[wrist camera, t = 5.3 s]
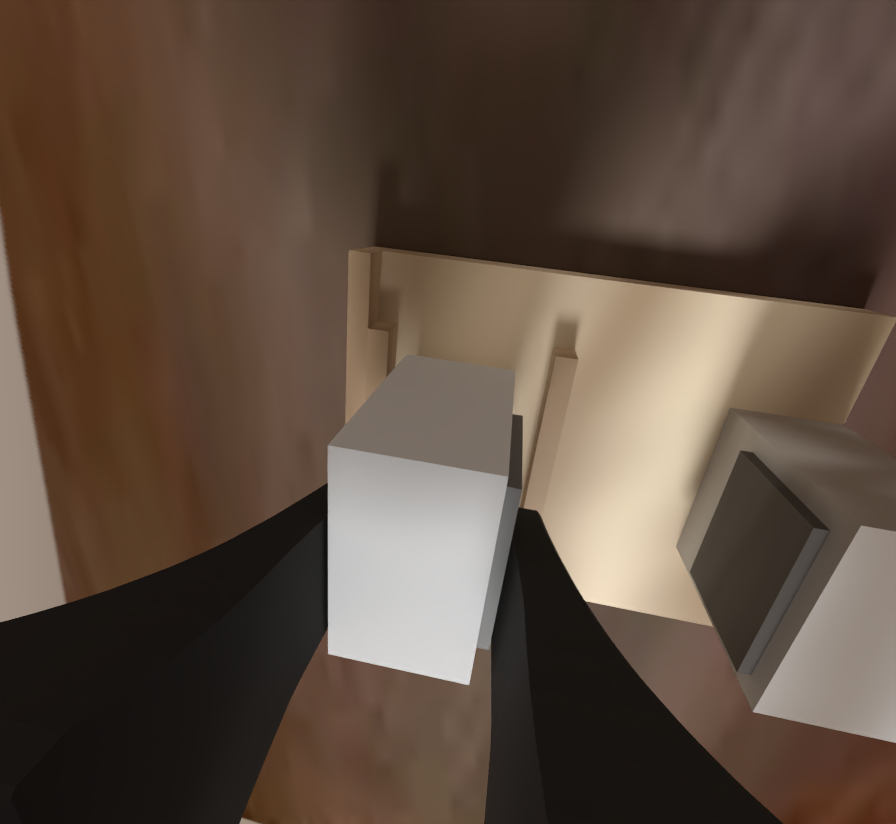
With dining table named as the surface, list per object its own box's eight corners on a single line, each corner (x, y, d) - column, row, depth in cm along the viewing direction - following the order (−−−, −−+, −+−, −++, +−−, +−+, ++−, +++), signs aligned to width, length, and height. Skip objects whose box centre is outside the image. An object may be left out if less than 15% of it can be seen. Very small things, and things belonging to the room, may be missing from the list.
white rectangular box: (526, 372, 12) (527, 480, 7) (498, 522, 14) (483, 688, 9) (406, 353, 12) (327, 445, 7) (395, 503, 15) (328, 654, 10)
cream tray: (864, 309, 12) (1190, 392, 6) (724, 604, 17) (837, 822, 11) (374, 246, 14) (254, 265, 8) (362, 534, 18) (280, 690, 12)
